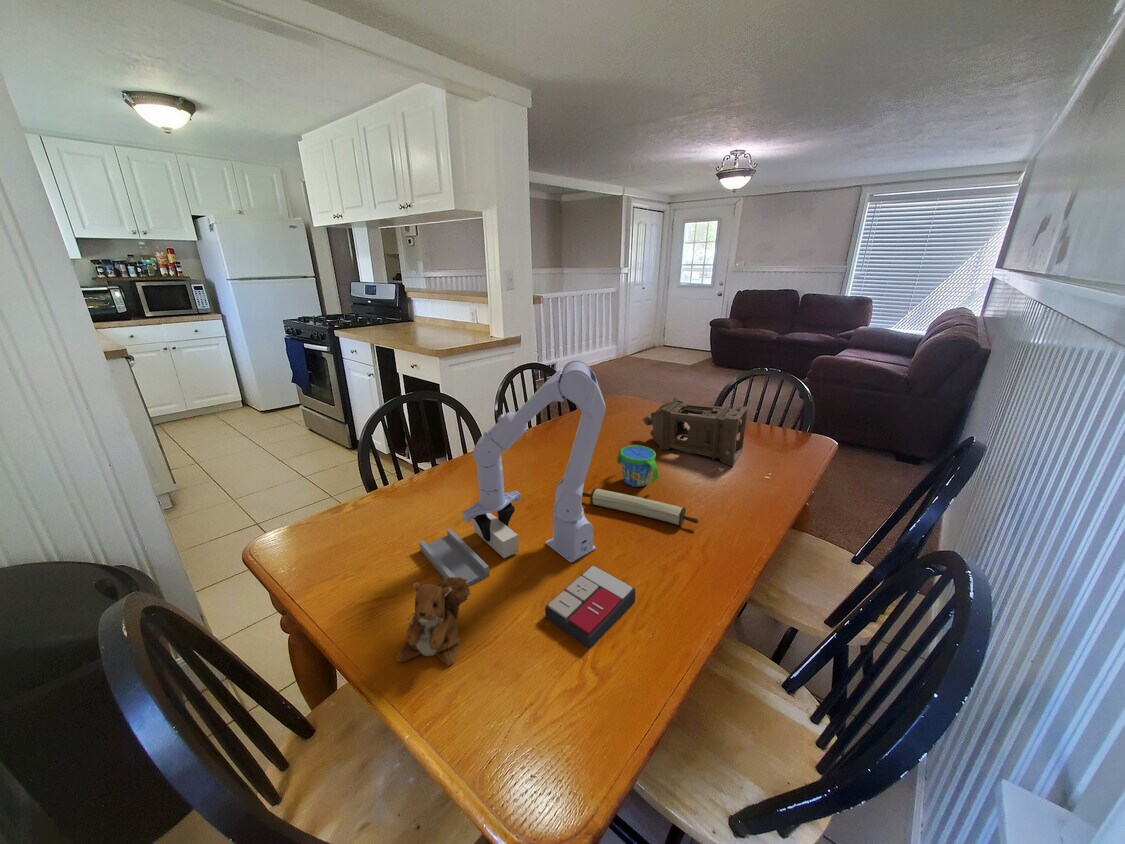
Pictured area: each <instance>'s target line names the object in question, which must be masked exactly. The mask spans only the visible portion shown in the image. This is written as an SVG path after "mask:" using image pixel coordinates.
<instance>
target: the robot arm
mask: <svg viewBox="0 0 1125 844" xmlns="http://www.w3.org/2000/svg"><path fill="white" fill-rule="evenodd" d="M599 385H600V384H599V382H598V379H597V375H596V374H595V372H594V371H593V369H592V368H591V367H590V366H589V365H588V363H586V362H585V361H582V360H580V359H579V360H578V359H576V360H575V359H573V360H571V361H569V362H567V363H566V364H565V365H564V366H563V369H561V368H559V370H557V371H556V372H555V373H554V374H552V376H550V377H549V378H548V379H547V380H546V381H545V382H544V383H543V384H542V385H541V386H540V387H539V388H538V389H537V390H536V391H535V393H534V394H532V395H531V397H530V398H529V399H528V400H527V401H526V402H525V403H524V404H523V405H522V406H521V407H520V408H519V409H518V410H517V411H512V412H511V411H509V412H508V411H507V412H506V414H505V415H504V414H502V413H501V414H500V415H499V417H498V418H497V421H498V422H496V423H495V424H494V425H493V426H492V427H491V428H490V429H486V430H485V431H484V432H483V435H481V436H480V437H479V438H478V441H477V442H476V444H475V446H474V447H473V450H472V458H473V460H474V462H475V463H476V467H477V468H476V472H477V484H478V485H477V486H478V497H479V501H477V502H476V503H474V504H473V505H472V506H471V507H469V508H467V509H466V510H463V511H462V520H463V521H464V522H466V523H470V522H471V521H472V520H473V518H474V520H475V521H476V523H477V524H478V526H479V528H480V530H481V532H482V535H483V538H484V539H485V540H486V541H487V542H488V541H490V523H491V520H490V519H489V518H488V517H487V515H486V514H487V513H491V514H492V513H497V519H499V520H500V521H501V522H502V523H504V524H505V525H506V526H507V527H509V524H510V521H511V518H512V516H513V514H514V513H515V506H514V505H512V503H513V502H518V503H519V502H521V500H522V499H521V498H522V496H521V495H522V494H521V493H520V492H519V491H517V490H514V491H511V492H505V485H504V469H503V468H504V467H503V465H502V464H503V463H502V462H503V459H502V455H501V454H502V453H503V452H506V451H507V450H509V448H510V447H512V445H514V444H515V443H516V442H517V441H518V440H519V439H520V438H521V437H522V436H523V435H524V434H525V433H526V432H527V424H528V423H529V422H530V421H531V420H532V419H533V418H534V417H536V416H537V415H538V414H539V413H540V412H541V411H543V409H545V408H546V407H547V406H548V405H550V403H552V402H560V403H561V402H565V398H566V399H567V400H569V401H570V402H571V403H573V404H575V405H576V407H578V409H579V410H580V412H581V415H580V419H579V422H578V426H577V430H576V433H575V437H574V440H573V444H572V447H571V452H570V455H569V458H568V462H567V465H566V470H565V471H564V473H563V475H562V476H563V477H562V478H561V480H560V481H559V482H558V483H557V485H556V487H555V497H554V498H555V499H554V504H553V508H552V509H553V510H552V530H553V531H552V532H553V533H552V538H550V539H547V540H546V541H545V544H546V545H547V546H548V547H550V549H552V550H553V551H555V552H556V553H558V554H559V555H560V556H562V558H564V559H565V560H566V561H568V562H569V563H573V562H576V561H577V560H578V559H580V558H582V557H583V556H585V555H587V554H589V553H590V552H593V551H594V550H596V549H597V547H596V546H595V545H594V526H593V524H592V523H591V522H590V521H589V520H588V519H587V518H586V516H585V509H584V508H583V505H582V497H583V496H582V493H583V492H584V488H585V487H584V485H585V481H586V478H587V475H588V471H589V468H590V465H591V461H592V458H593V454H594V452H595V449H596V448H595V447H596V445H597V441H598V438H599V434H600V432H601V429H602V425H603V422H604V421H603V420H604V418H605V415H606V409H607V408H606V403H605V399H604V396H603V393H602V390H601V388H600V386H599ZM486 541H485V542H486ZM487 542H486V543H487Z"/></svg>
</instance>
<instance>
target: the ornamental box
mask: <svg viewBox="0 0 1125 844" xmlns="http://www.w3.org/2000/svg"><path fill="white" fill-rule="evenodd" d="M748 410H749V406H748V405H747V406H746V405H745V406H737V405H735V406H733V407H732V408H730V407H728V404H726V405H725V406H724V407H723V406H716V405H715V406H713V405H703V404H700V405H699V404H691V403H684V401H683V400H680V399H678V397H673V400H672V401H670V402H666V403H664V404H662V405H660V407H658V409H656V410H655V411H653V412H651V413H650V415H646V416H645V417H644V418H642V422H643V423H644V425H646V426H647V427H648V426H652V430H650V436H651V437H652V438H653V442H656V444H657V445H659V448H658V449H659V450H661V451H665V450H670V449H674V450H678V451H679V450H680V451H684V452H689V453H691V454H692V453H693V454H696V455H697V454H698V455H700V456H705V457H710V458H711V461H714V460H715V459H719V462H720V463H722V464H725V465H728V466H730V467H732V468H733V467H734V466H735V465H736V462H737V460H738V459H739V457H740V456H741V453H742V451H743V449H744V441H745V434H746V433H745V431H746V425H747V416H748ZM740 420H741V421H740ZM685 423H686V424H687V425H688V427H689V428H688V427H686V426H685ZM738 434H740V435H739V438H738V437H737V436H738ZM684 438H686V439H685V440H684Z"/></svg>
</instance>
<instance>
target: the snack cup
mask: <svg viewBox="0 0 1125 844" xmlns="http://www.w3.org/2000/svg"><path fill="white" fill-rule="evenodd" d="M656 457H657V454H656V452H655V450H654V449H652V448H650V447H648V446H644V445H636V444H633V445H632V444H631V445H626V446H624V447H622V448H620V449H619V451H618V454H617V457H616V462H617V464H620V465H621V466H622V467H621V468H622V478H623V480H622V481H623V482H624V483H625V484H626V485H628V486H631V487H632V488H635V487H636V488H641V487H646V485H648V483H649V480H650V478H651V480H650V483H655V482H656V481H658V479H659V472H658V470H659V469H658V465H657V462H656ZM651 472H652V473H651ZM651 474H652V476H651Z"/></svg>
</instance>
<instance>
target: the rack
mask: <svg viewBox="0 0 1125 844" xmlns="http://www.w3.org/2000/svg"><path fill="white" fill-rule="evenodd" d="M446 532H447V535H444V536H443V537H441V538H439V539H436V540H433V541H431V542H429V543H427V542H426V541H425V540H424V539H423V540H420V541H419V542H418V543H419V549H420V552H421V553H422V554H423V556H424V557H425V558H426V559H427V560H428V561H429V563H430V564H431V565H432V567H434V569H435V570H436V571H437V572H438V573H439V575H440V576H441V577H442V578H443V580H444V579H445V578H446V579H447V578H450V577H454V578H455V577H456V578H457V577H461V578H462V579H464V578H465V580H466V579H467V580H468V581H466V583H467V584H468V588H470V586H472V585H474V584H476V583H478V582H480V581H483V580H484V579H486V578H488V577H490V565H488V564H487V563H486V562H485V561H484V560H483V559H482V558H481V557H480V556H479V554H477V553H476V552H475V551H474V550H473V549H472V548H471V547H470V545H468V544H467V543H466V542H465V541H464V540H463V539H462V538H461V537H460V536H458V534H457V533H455V531H453V529H452V528H448V529H447V530H446Z"/></svg>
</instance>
